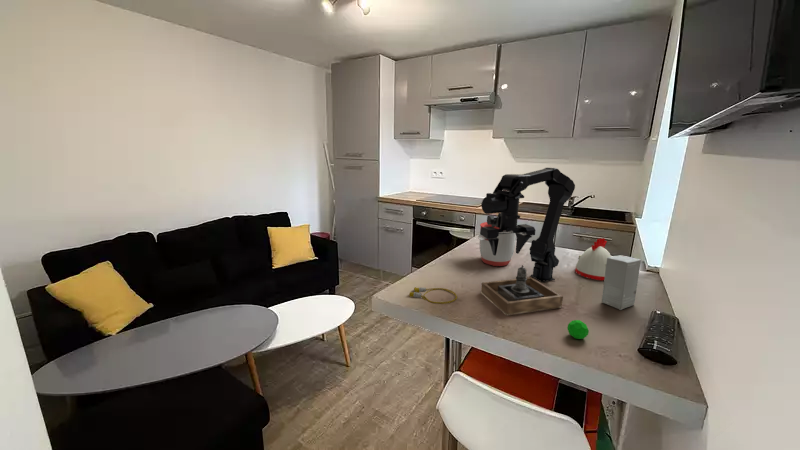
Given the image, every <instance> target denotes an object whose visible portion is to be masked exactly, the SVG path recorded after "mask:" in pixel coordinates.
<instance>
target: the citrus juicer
mask: <svg viewBox="0 0 800 450" xmlns="http://www.w3.org/2000/svg"><path fill="white" fill-rule="evenodd" d="M479 226H480V228H479V229H480V230H481V228H482V227H489V226H491V225H488V224H487V221H484V222H482V223H480V224H479ZM491 227H492V226H491ZM493 228H496V229H500V228H497V227H496V226H495V227H493ZM477 238H478V239H479V252H480V258H481V260H482V262H483V263H484V264H486V265H489V266H493V267H498V266H499V267H503V266H508V265H509V264H510V262H511V261H512V258H513V255H514V252H515V249H516V240H517V237H516V234H515V233H509V234H499V236H498V237H497V238H498V239H499V242H498V247H497V253H496V255H495V256H494V255H493V253H492V249H491V246H490V243H489V241H488V239H487V238H485V237H484V236H482V235H480V234H478V236H477Z"/></svg>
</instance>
